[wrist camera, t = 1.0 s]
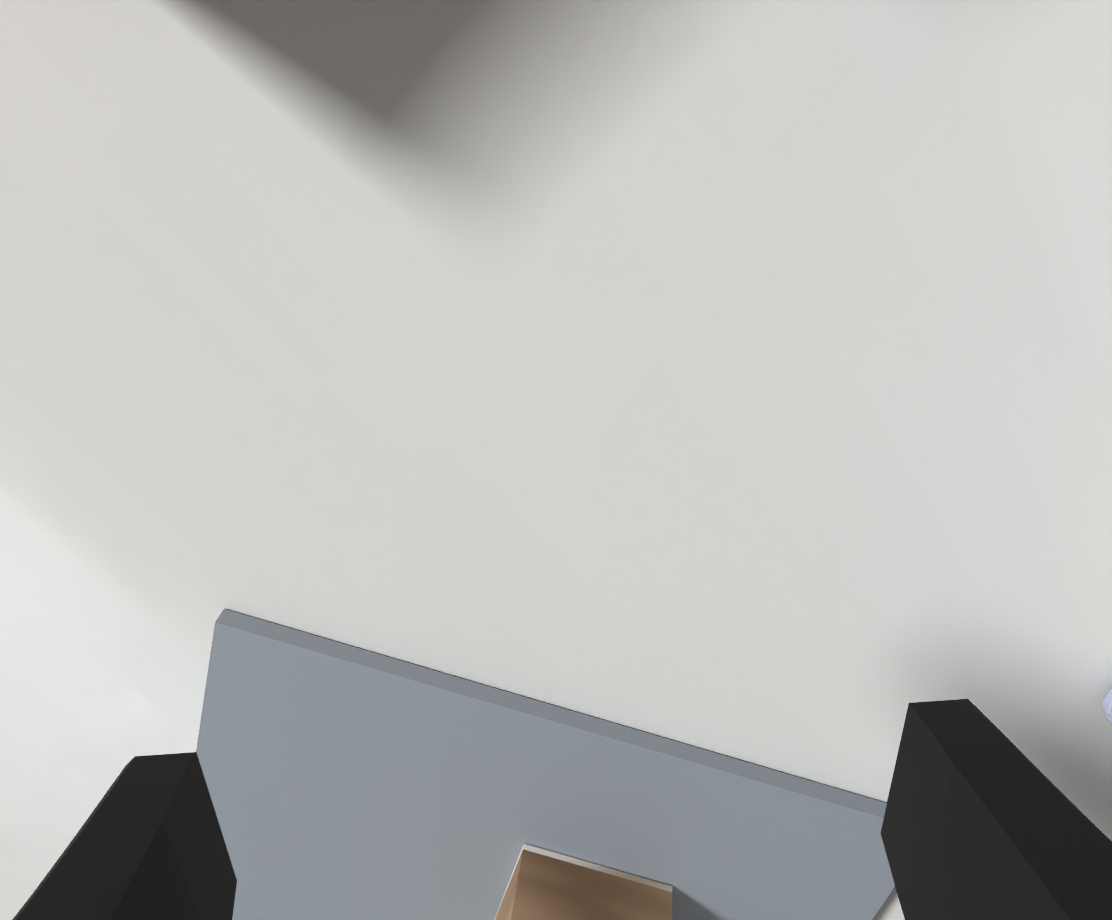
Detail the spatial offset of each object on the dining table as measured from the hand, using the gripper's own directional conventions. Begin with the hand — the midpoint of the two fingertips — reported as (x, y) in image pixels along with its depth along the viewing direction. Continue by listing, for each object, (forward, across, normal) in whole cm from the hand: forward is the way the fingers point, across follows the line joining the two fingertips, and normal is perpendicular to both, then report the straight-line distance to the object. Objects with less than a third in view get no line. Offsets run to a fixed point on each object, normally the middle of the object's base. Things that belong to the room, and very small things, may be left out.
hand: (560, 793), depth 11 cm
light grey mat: (+12, +1, +19) cm, 23 cm away
